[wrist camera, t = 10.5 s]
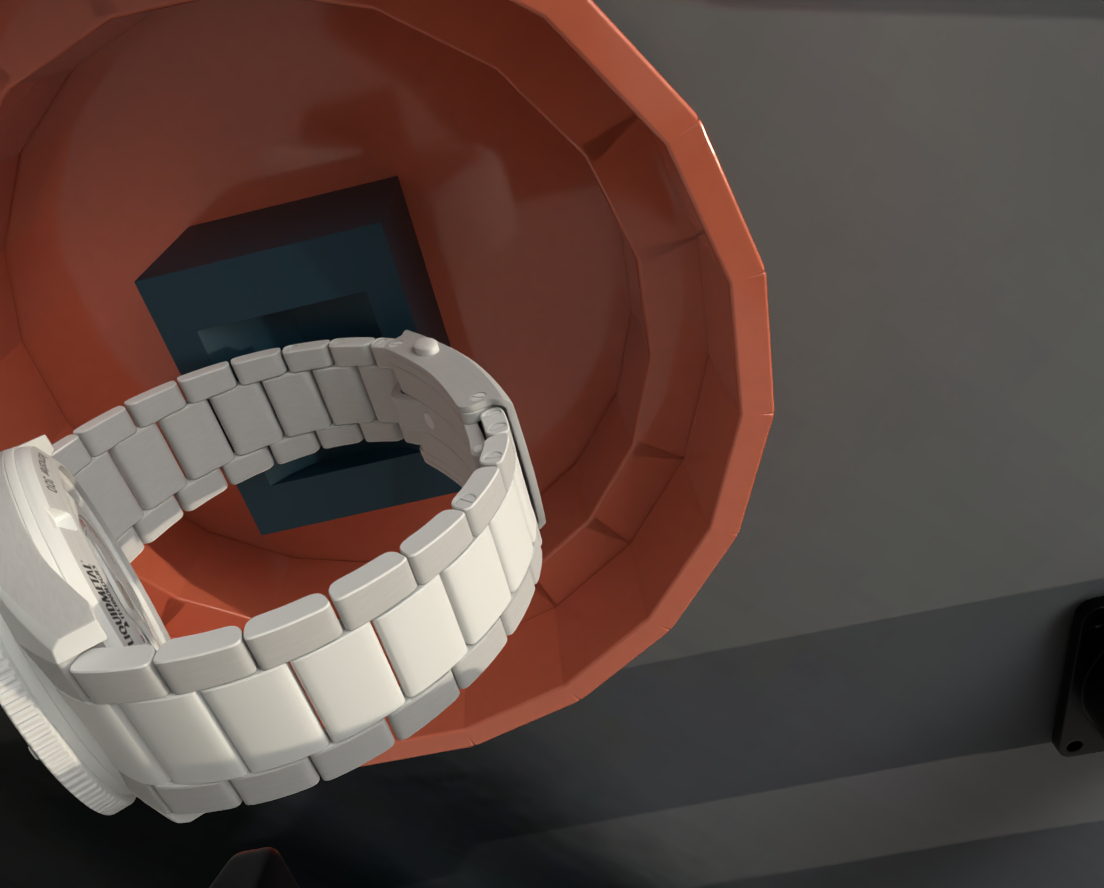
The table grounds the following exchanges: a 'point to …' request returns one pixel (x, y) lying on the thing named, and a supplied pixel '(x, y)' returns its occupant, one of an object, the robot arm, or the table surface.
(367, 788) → the table surface
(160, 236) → the terracotta bowl
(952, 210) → the table surface
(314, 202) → the watch
